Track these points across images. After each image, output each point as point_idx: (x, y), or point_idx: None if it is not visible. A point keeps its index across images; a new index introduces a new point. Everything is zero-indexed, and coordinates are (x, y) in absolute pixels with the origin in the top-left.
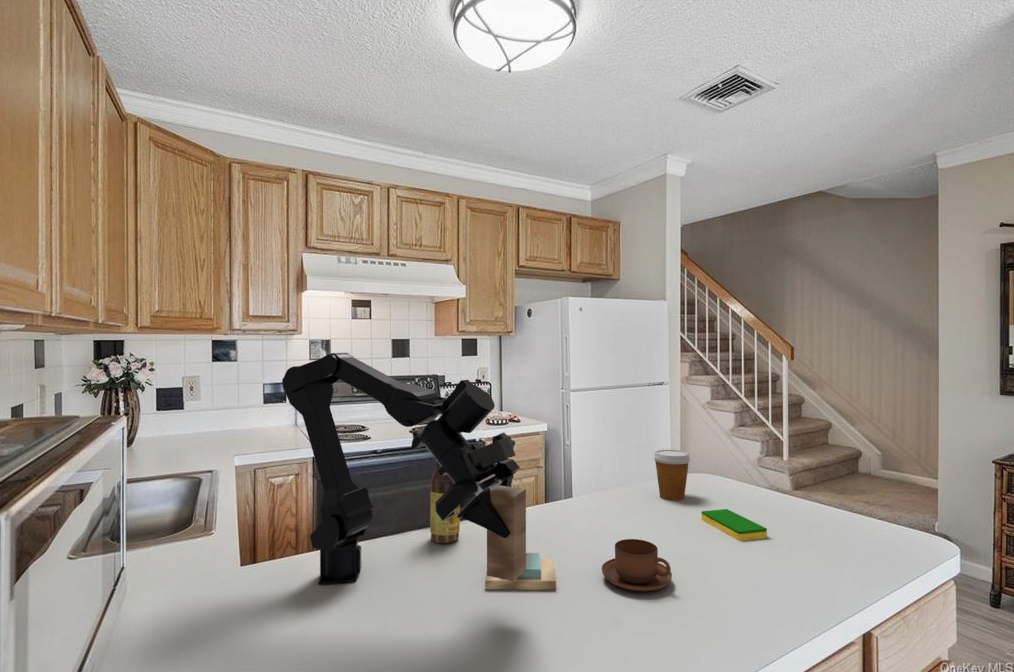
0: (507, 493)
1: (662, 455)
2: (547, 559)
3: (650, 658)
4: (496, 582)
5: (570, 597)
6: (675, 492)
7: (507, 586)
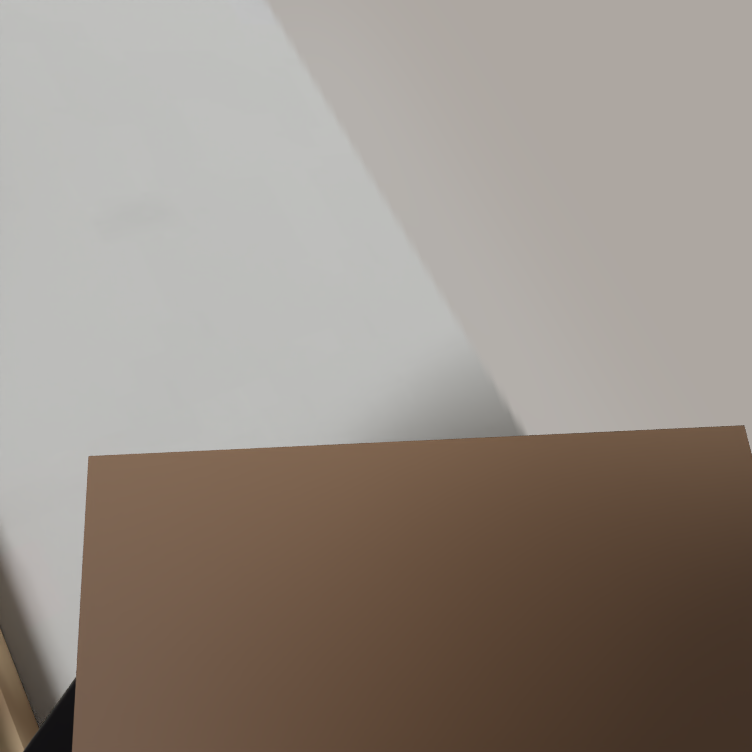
0: (659, 675)
1: None
2: None
3: (303, 104)
4: None
5: (9, 422)
6: None
7: None
